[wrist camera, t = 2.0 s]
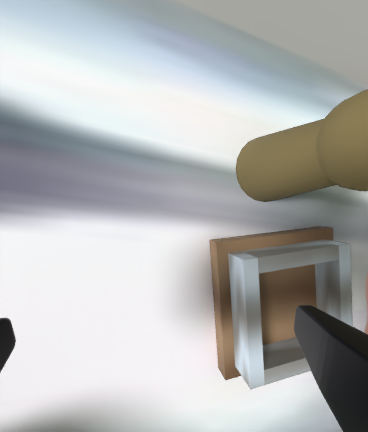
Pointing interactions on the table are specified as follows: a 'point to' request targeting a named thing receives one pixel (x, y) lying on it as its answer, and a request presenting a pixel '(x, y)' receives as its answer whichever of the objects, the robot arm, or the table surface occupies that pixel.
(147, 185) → the table surface
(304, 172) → the olive brown knob
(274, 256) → the socket board
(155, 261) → the table surface
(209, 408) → the table surface
